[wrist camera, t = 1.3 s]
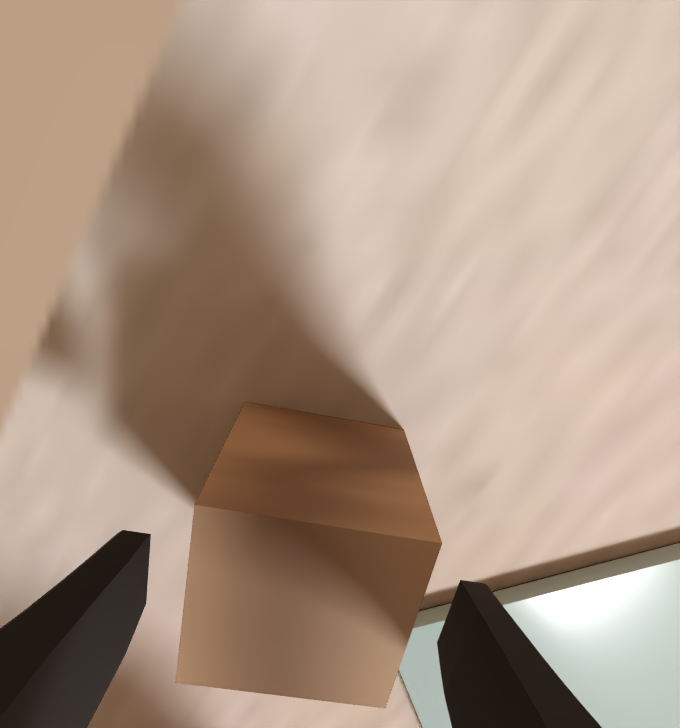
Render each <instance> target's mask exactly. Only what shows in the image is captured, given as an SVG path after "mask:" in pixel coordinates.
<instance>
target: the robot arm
mask: <svg viewBox="0 0 680 728" xmlns="http://www.w3.org/2000/svg"><path fill="white" fill-rule="evenodd" d="M150 537H151V534H146V533H139V532H132V531H126V530H122V531H121V532H119V533H118V534H116V535H115V536H114V537H113V538H112V539H111V540H109V541H108V542H107V543H106V544H105V545H104V546H102V547H101V548H100V549H99V550H98V551H97V552H95V553H94V554H93V555H92V556H91V557H90V558H88V559H87V560H86V561H85V562H84V563H82V564H81V565H80V566H79V567H78V568H76V569H75V570H74V571H73V572H72V573H70V574H69V575H68V576H67V577H66V578H64V579H63V580H62V581H61V582H60V583H58V584H57V585H56V586H55V587H53V588H52V589H51V590H50V591H48V592H47V593H46V594H45V595H43V596H42V597H41V598H40V599H38V600H37V601H36V602H34V603H33V604H32V605H31V606H29V607H28V608H27V609H26V610H24V611H23V612H22V613H21V614H19V615H18V616H17V617H15V618H14V619H13V620H11V621H10V622H9V623H7V624H6V625H4V626H3V627H2V628H0V728H87V726H88V724H89V723H90V721H91V719H92V717H93V715H94V713H95V711H96V709H97V707H98V705H99V704H100V702H101V700H102V698H103V696H104V694H105V692H106V690H107V688H108V686H109V684H110V683H111V681H112V679H113V677H114V675H115V673H116V671H117V669H118V667H119V665H120V663H121V661H122V659H123V657H124V656H125V654H126V651H127V649H128V646H129V644H130V642H131V639H132V637H133V634H134V632H135V630H136V627H137V625H138V622H139V620H140V617H141V615H142V612H143V610H144V607H145V605H146V597H147V582H148V567H149V552H150ZM437 647H438V655H439V663H440V671H441V677H442V684H443V690H444V696H445V700H446V705H447V709H448V713H449V717H450V721H451V725H452V728H602V727H601V726H600V725H599V723H598V722H597V721H596V720H595V719H594V718H593V717H592V715H591V714H590V713H589V712H588V711H587V710H586V709H585V707H584V706H583V705H582V704H581V703H580V702H579V700H578V699H577V698H576V697H575V696H574V694H573V693H572V692H571V691H570V690H569V688H568V687H567V686H566V685H565V684H564V682H563V681H562V680H561V679H560V678H559V676H558V675H557V674H556V673H555V671H554V670H553V669H552V668H551V667H550V665H549V664H548V663H547V662H546V660H545V659H544V658H543V657H542V655H541V654H540V653H539V652H538V650H537V649H536V648H535V646H534V645H533V644H532V643H531V641H530V640H529V639H528V638H527V636H526V635H525V634H524V632H523V631H522V630H521V629H520V627H519V626H518V625H517V623H516V622H515V621H514V620H513V618H512V617H511V616H510V614H509V613H508V612H507V611H506V609H505V608H504V607H503V605H502V604H501V603H500V602H499V600H498V599H497V598H496V596H495V595H494V594H493V593H492V591H491V590H490V589H489V588H488V587H487V585H486V584H483V583H477V582H470V581H463V580H460V583H459V585H458V588H457V591H456V593H455V596H454V599H453V601H452V604H451V607H450V609H449V612H448V615H447V617H446V620H445V623H444V625H443V628H442V630H441V633H440V636H439V638H438V641H437Z"/></svg>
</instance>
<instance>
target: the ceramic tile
mask: <svg viewBox="0 0 680 728" xmlns="http://www.w3.org/2000/svg"><path fill="white" fill-rule="evenodd" d="M492 593H493V594H494V595H495V596H496V598H497V599H498V600H499V602H500V603H501V604H502V605H503V607H504V608H505V609H506V611H507V612H508V613H509V614H510V616H511V617H512V618H513V620H514V621H515V622H516V623H517V625H518V626H519V627H520V629H521V630H522V631H523V632H524V634H525V635H526V636H527V638H528V639H529V640H530V641H531V643H532V644H533V645H534V646H535V648H536V649H537V650H538V652H539V653H540V654H541V655H542V657H543V658H544V659H545V660H546V662H547V663H548V664H549V665H550V667H551V668H552V669H553V670H554V671H555V673H556V674H557V675H558V676H559V678H560V679H561V680H562V681H563V682H564V684H565V685H566V686H567V687H568V688H569V690H570V691H571V692H572V693H573V694H574V696H575V697H576V698H577V699H578V700H579V702H580V703H581V704H582V705H583V706H584V707H585V709H586V710H587V711H588V712H589V713H590V714H591V715H592V717H593V718H594V719H595V720H596V721H597V722H598V723H599V725H600V726H601V727H602V728H680V543H677V544H673V545H669V546H666V547H662V548H658V549H654V550H650V551H647V552H643V553H639V554H635V555H631V556H628V557H624V558H620V559H616V560H613V561H609V562H605V563H601V564H597V565H594V566H590V567H586V568H582V569H578V570H575V571H571V572H567V573H563V574H559V575H556V576H552V577H548V578H544V579H540V580H537V581H533V582H529V583H525V584H521V585H518V586H514V587H510V588H506V589H502V590H499V591H495V592H492ZM451 604H452V603H449V604H445V605H442V606H438V607H434V608H430V609H426V610H423V611H419V612H418V615H417V618H416V621H415V623H414V626H413V629H412V632H411V635H410V638H409V641H408V644H407V647H406V650H405V653H404V655H403V658H402V661H401V664H400V667H399V671H400V674H401V676H402V678H403V681H404V683H405V686H406V688H407V691H408V693H409V695H410V698H411V700H412V703H413V705H414V708H415V710H416V712H417V715H418V717H419V720H420V722H421V725H422V727H423V728H452V725H451V721H450V717H449V713H448V709H447V705H446V700H445V696H444V690H443V684H442V677H441V671H440V663H439V655H438V647H437V641H438V638H439V636H440V633H441V630H442V628H443V625H444V623H445V620H446V617H447V615H448V612H449V609H450V607H451Z"/></svg>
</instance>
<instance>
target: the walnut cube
mask: <svg viewBox="0 0 680 728" xmlns="http://www.w3.org/2000/svg"><path fill="white" fill-rule="evenodd" d="M441 545H442V542H441V539H440V536H439V533H438V530H437V527H436V524H435V521H434V518H433V515H432V512H431V509H430V506H429V503H428V500H427V497H426V494H425V491H424V488H423V485H422V482H421V479H420V476H419V473H418V470H417V467H416V464H415V461H414V458H413V455H412V452H411V449H410V446H409V444H408V441H407V438H406V435H405V432H404V430H403V429H398V428H392V427H386V426H380V425H375V424H369V423H363V422H358V421H352V420H346V419H341V418H335V417H329V416H323V415H318V414H312V413H306V412H301V411H295V410H289V409H284V408H278V407H272V406H266V405H261V404H255V403H249V402H245V403H244V405H243V407H242V409H241V411H240V413H239V415H238V417H237V419H236V421H235V423H234V425H233V427H232V429H231V431H230V434H229V436H228V438H227V440H226V442H225V444H224V446H223V448H222V450H221V452H220V454H219V456H218V458H217V460H216V462H215V464H214V466H213V468H212V470H211V472H210V474H209V476H208V478H207V480H206V483H205V485H204V487H203V489H202V491H201V493H200V495H199V497H198V499H197V501H196V503H195V506H194V515H193V524H192V534H191V543H190V552H189V561H188V571H187V580H186V589H185V599H184V608H183V617H182V626H181V636H180V645H179V654H178V664H177V673H176V682H175V683H182V684H190V685H198V686H206V687H215V688H223V689H231V690H239V691H247V692H255V693H264V694H272V695H280V696H288V697H296V698H304V699H313V700H321V701H329V702H337V703H345V704H353V705H362V706H370V707H378V708H386V705H387V702H388V699H389V696H390V693H391V690H392V687H393V685H394V682H395V679H396V676H397V673H398V670H399V667H400V664H401V661H402V658H403V655H404V653H405V650H406V647H407V644H408V641H409V638H410V635H411V632H412V629H413V626H414V623H415V621H416V618H417V615H418V612H419V609H420V606H421V603H422V600H423V597H424V594H425V591H426V589H427V586H428V583H429V580H430V577H431V574H432V571H433V568H434V565H435V562H436V559H437V556H438V554H439V551H440V548H441Z"/></svg>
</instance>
